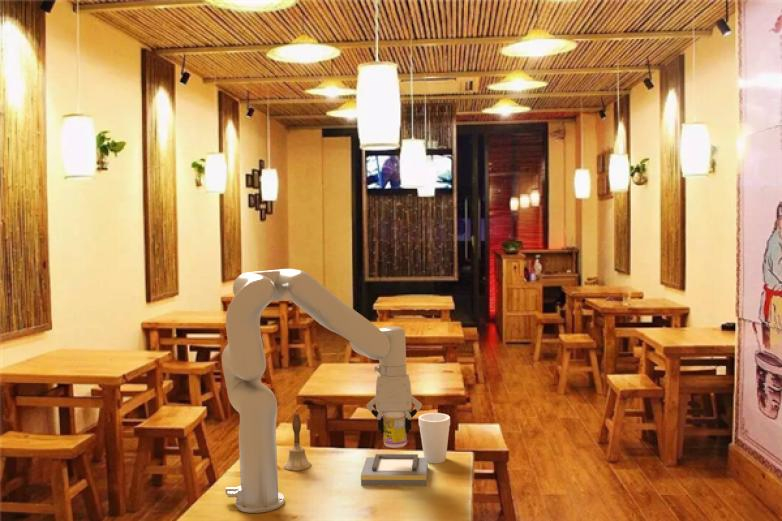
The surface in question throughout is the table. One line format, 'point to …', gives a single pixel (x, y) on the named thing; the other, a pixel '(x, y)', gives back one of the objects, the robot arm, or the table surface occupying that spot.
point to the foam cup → (434, 436)
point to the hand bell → (297, 450)
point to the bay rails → (395, 456)
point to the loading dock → (395, 472)
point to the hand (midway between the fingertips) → (394, 431)
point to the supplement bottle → (394, 429)
